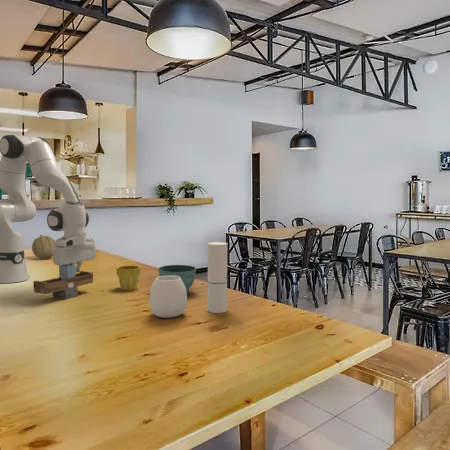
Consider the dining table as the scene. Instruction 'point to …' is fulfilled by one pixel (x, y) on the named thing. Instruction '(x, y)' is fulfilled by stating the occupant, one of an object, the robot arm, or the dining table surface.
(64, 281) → the beam
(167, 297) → the white vase
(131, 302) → the dining table surface
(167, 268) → the flower pot
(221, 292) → the cylindrical container
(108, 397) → the dining table surface
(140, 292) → the dining table surface
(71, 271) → the block
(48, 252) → the cantaloupe
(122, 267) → the plant pot
